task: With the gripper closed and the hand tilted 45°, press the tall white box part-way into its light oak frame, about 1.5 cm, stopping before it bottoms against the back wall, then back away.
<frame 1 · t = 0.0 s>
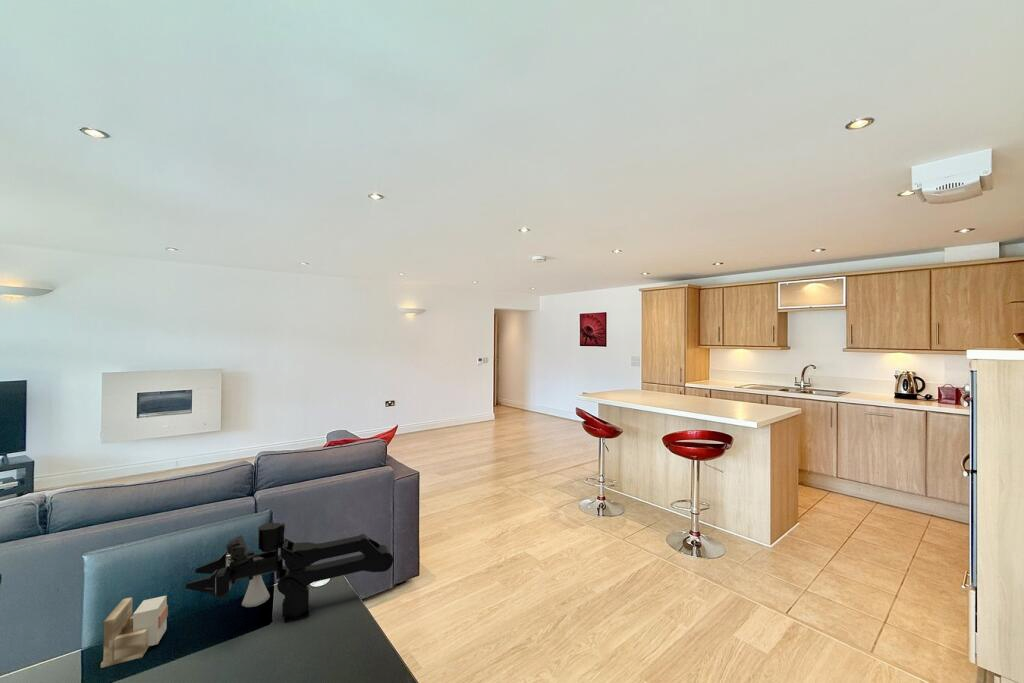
hand: (190, 578, 112), 17 cm above the table, tool horizontal, fingers open, 9 cm apart
white box: (151, 621, 111), point 6 cm above the table, slide at 0.0 cm
flask: (256, 602, 129), on the table
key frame: (135, 647, 109), on the table
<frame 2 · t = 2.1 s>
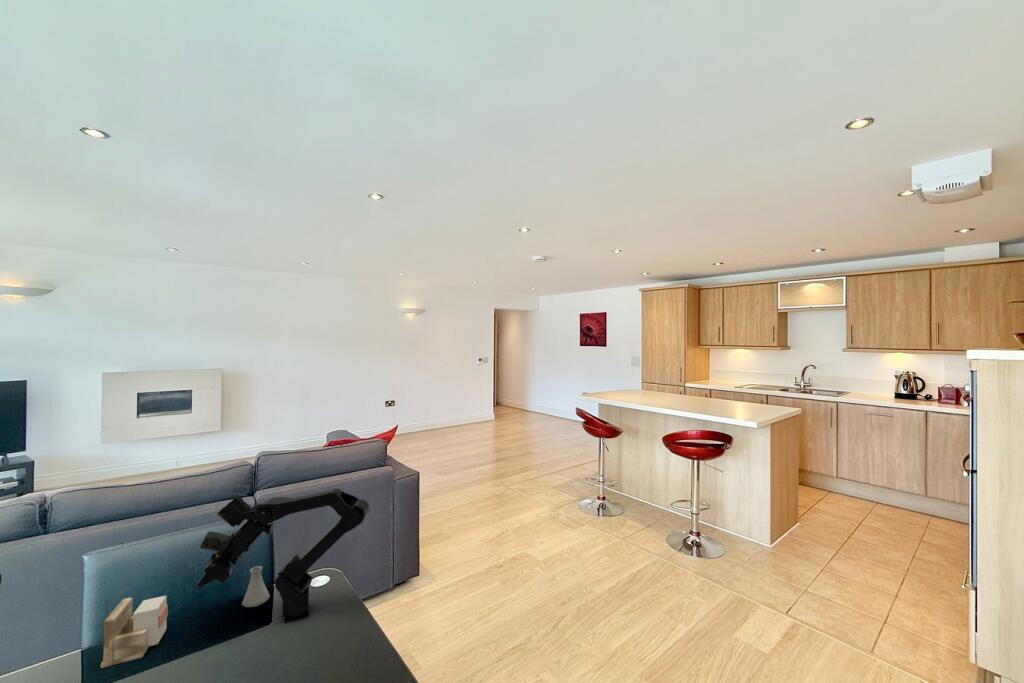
hand: (198, 586, 115), 12 cm above the table, tool tilted 45°, fingers closed
nothing on the table moved.
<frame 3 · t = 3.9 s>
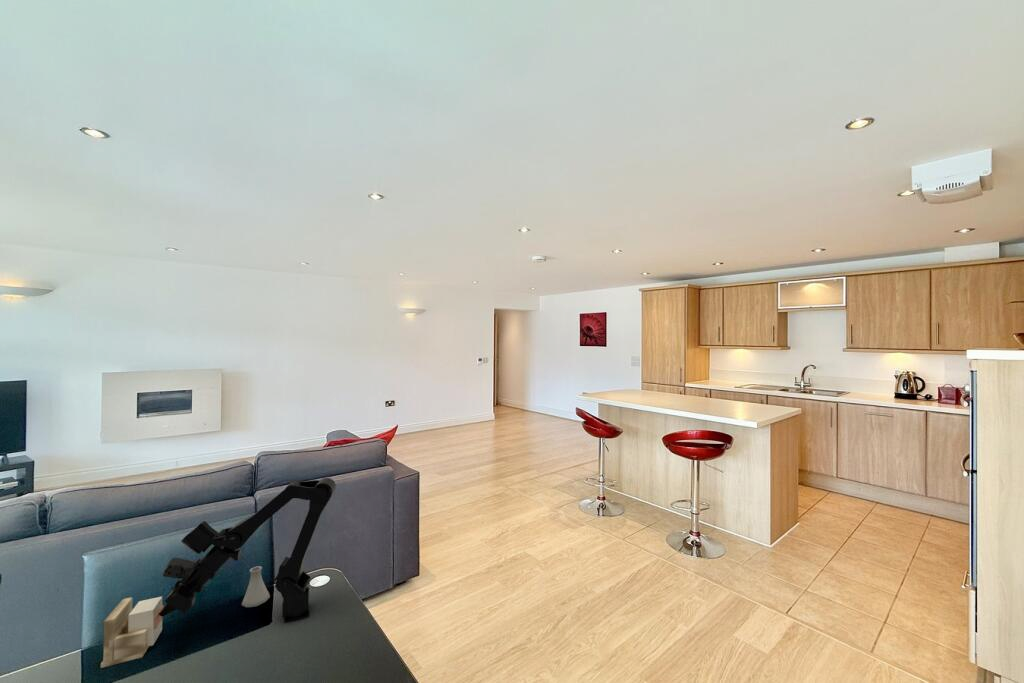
hand: (161, 615, 112), 7 cm above the table, tool tilted 45°, fingers closed, pressing on white box
white box: (146, 622, 110), point 6 cm above the table, slide at 1.0 cm, touching gripper
everything else where it was.
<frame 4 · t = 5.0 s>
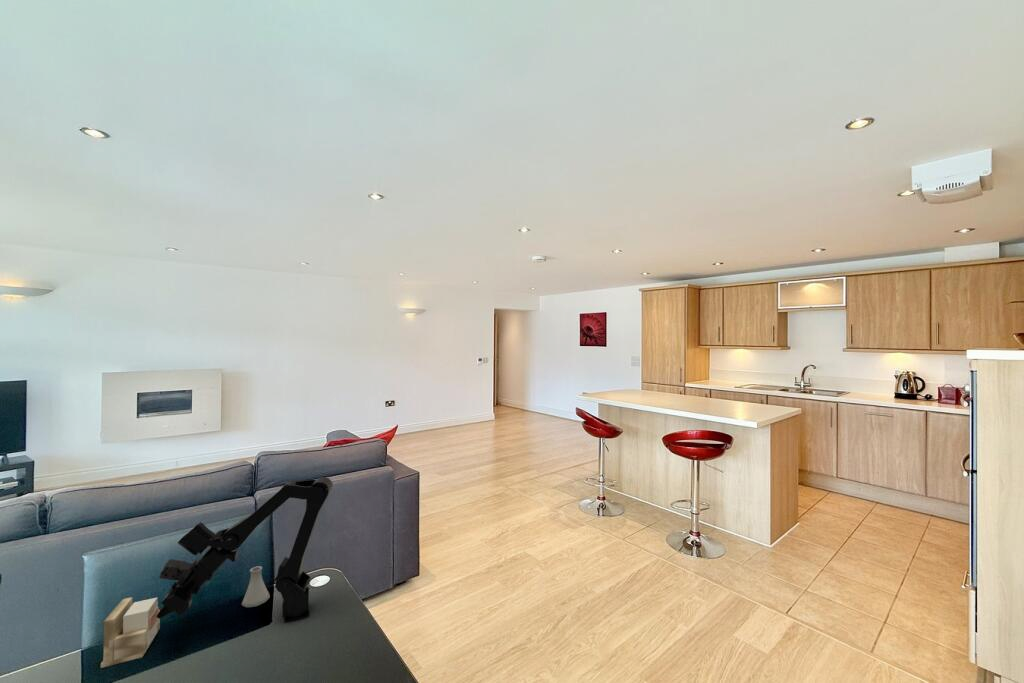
hand: (158, 617, 111), 7 cm above the table, tool tilted 45°, fingers closed
white box: (141, 623, 110), point 6 cm above the table, slide at 2.0 cm
everything else where it was.
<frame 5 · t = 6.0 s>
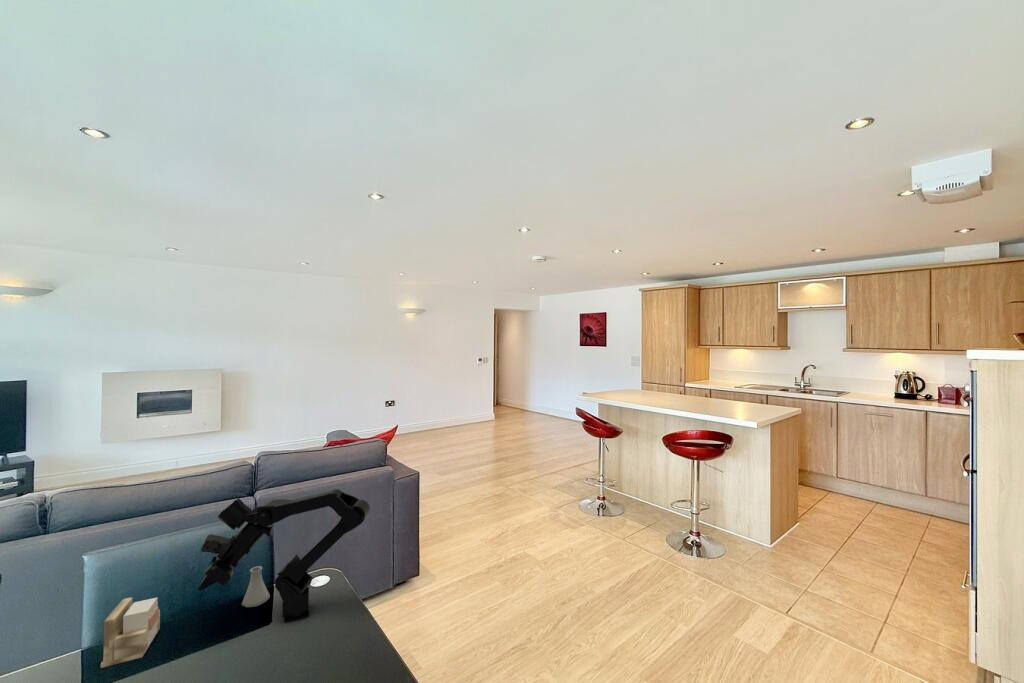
hand: (199, 589, 115), 12 cm above the table, tool tilted 45°, fingers closed
nothing on the table moved.
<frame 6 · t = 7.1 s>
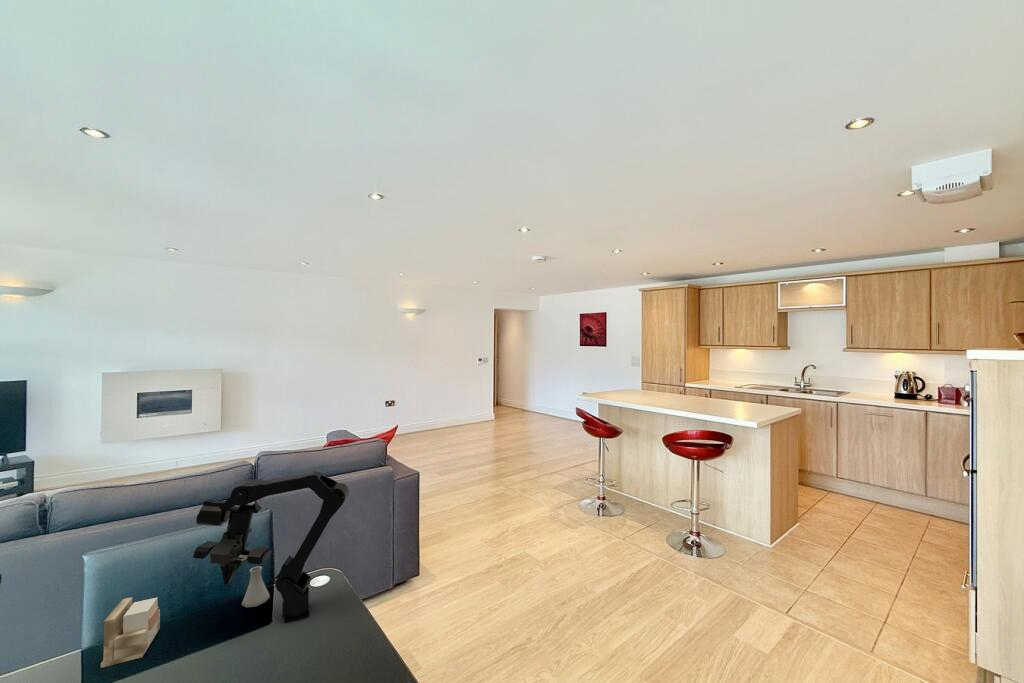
hand: (226, 584, 117), 12 cm above the table, tool pointing down, fingers closed
nothing on the table moved.
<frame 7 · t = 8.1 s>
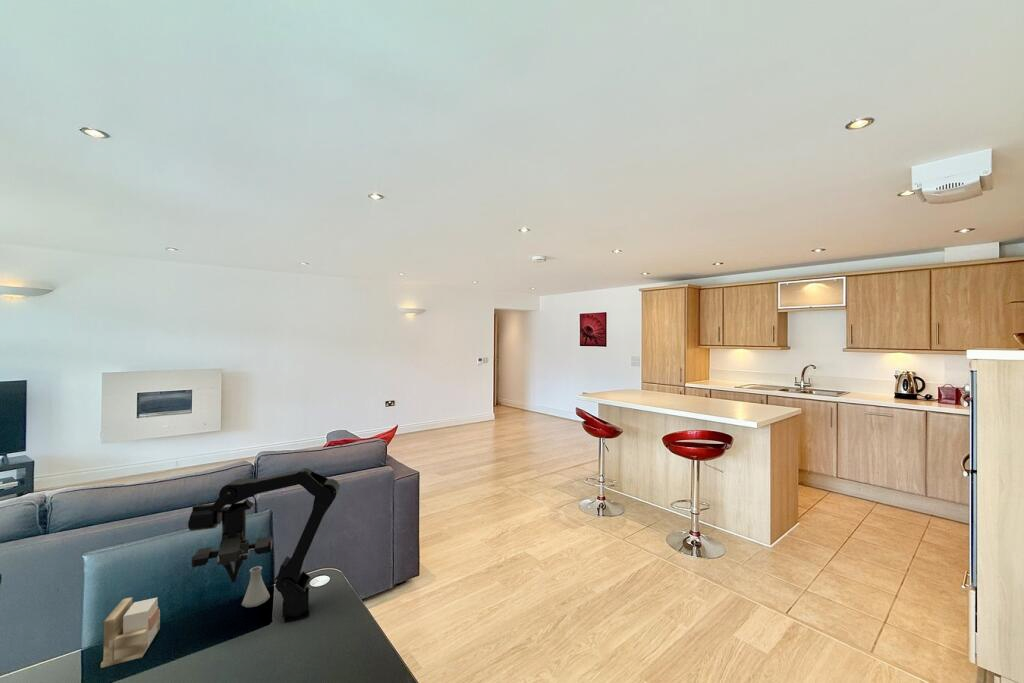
hand: (234, 581, 118), 12 cm above the table, tool pointing down, fingers closed
nothing on the table moved.
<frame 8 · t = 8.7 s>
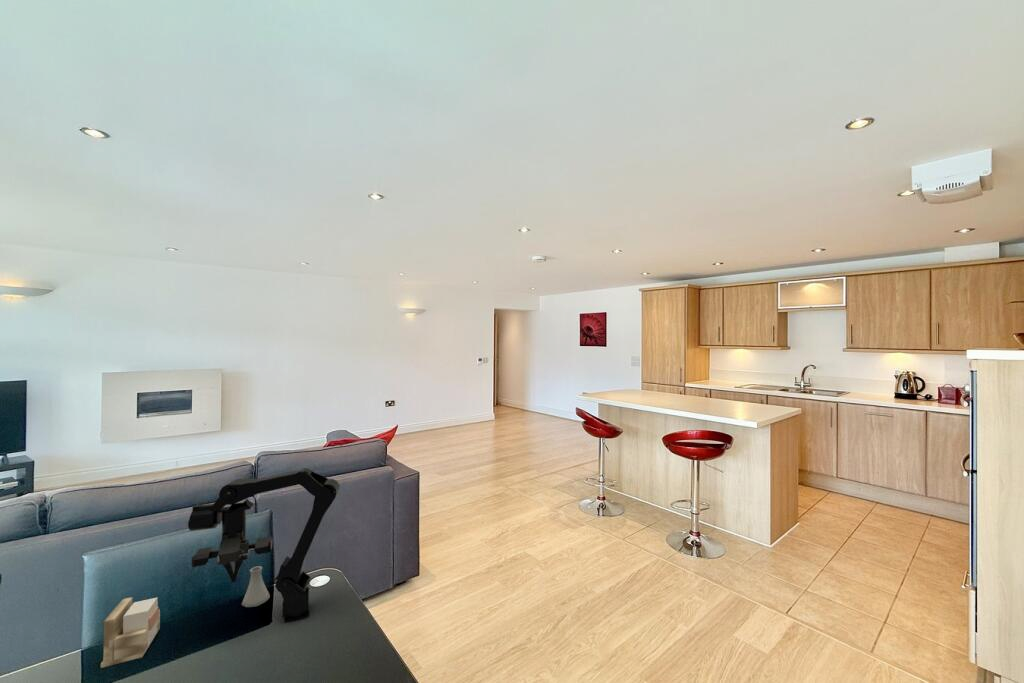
hand: (234, 581, 118), 12 cm above the table, tool pointing down, fingers closed
nothing on the table moved.
at the end: white box slide at 2.0 cm; flask moved 0.3 cm from its start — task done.
